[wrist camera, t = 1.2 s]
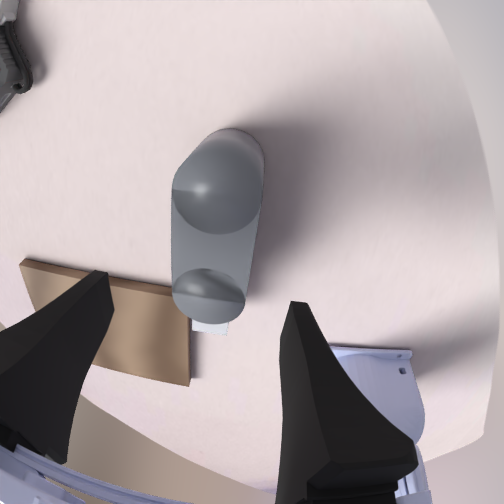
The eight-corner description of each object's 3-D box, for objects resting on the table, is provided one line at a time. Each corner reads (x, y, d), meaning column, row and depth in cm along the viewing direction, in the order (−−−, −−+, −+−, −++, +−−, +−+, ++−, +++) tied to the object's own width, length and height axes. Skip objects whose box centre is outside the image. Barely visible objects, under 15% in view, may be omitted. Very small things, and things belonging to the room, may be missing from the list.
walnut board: (190, 290, 23) (187, 299, 22) (190, 378, 29) (188, 386, 29) (24, 258, 22) (18, 264, 22) (56, 345, 29) (53, 351, 28)
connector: (269, 133, 17) (268, 156, 12) (242, 305, 24) (236, 357, 19) (198, 125, 16) (173, 145, 12) (190, 297, 23) (175, 347, 19)
